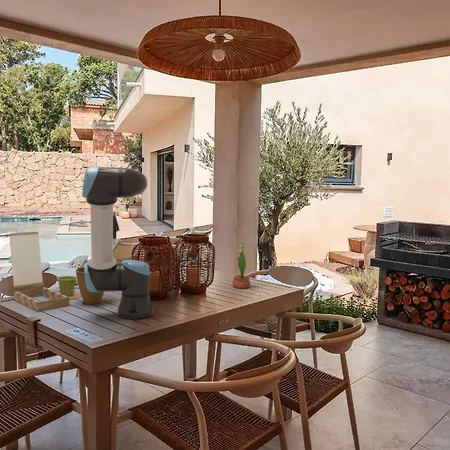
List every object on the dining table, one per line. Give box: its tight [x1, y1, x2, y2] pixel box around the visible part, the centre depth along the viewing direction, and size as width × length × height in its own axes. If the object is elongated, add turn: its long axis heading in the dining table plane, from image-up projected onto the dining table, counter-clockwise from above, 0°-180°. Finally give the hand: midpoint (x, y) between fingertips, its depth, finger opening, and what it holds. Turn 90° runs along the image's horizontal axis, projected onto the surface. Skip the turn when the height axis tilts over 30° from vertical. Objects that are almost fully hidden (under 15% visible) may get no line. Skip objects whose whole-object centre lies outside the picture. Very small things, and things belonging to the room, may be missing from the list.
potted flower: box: [231, 243, 251, 289], centre depth 251 cm, size 12×10×25 cm
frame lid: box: [8, 231, 44, 287], centre depth 219 cm, size 25×14×1 cm
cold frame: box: [13, 282, 70, 312], centre depth 210 cm, size 26×14×6 cm, turn 46°
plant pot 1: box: [56, 275, 77, 296], centre depth 221 cm, size 9×9×9 cm
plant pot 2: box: [75, 266, 105, 305], centre depth 212 cm, size 15×15×16 cm
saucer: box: [68, 291, 82, 301], centre depth 222 cm, size 13×13×1 cm
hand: (105, 244), depth 224 cm, fingers open, 13 cm apart
